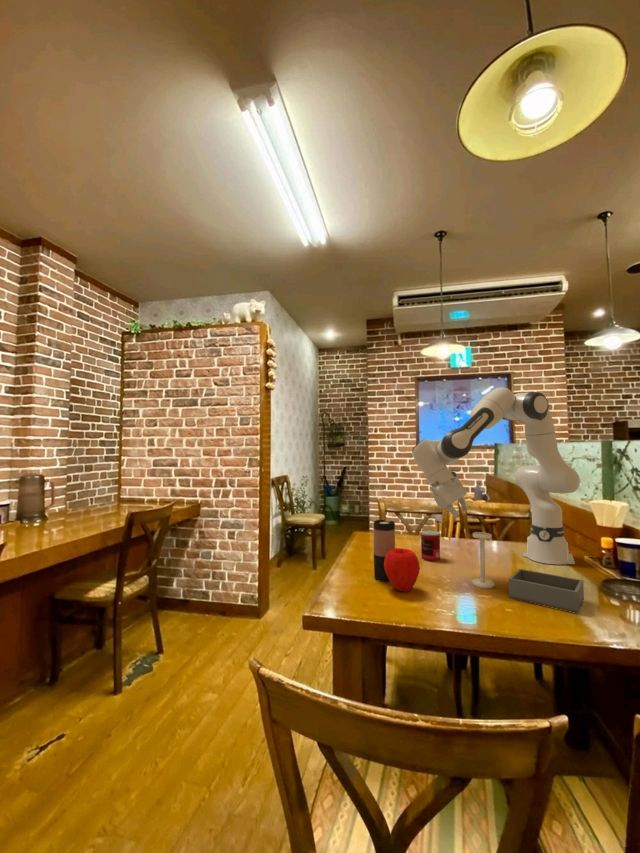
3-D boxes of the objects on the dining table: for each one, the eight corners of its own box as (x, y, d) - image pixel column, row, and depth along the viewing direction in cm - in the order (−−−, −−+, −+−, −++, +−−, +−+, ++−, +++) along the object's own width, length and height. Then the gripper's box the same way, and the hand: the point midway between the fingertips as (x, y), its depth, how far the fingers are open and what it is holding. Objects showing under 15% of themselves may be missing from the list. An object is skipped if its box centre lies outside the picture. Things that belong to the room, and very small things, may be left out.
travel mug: (379, 583, 136) (378, 524, 137) (370, 576, 143) (370, 520, 144) (399, 581, 138) (398, 523, 139) (389, 574, 145) (389, 519, 146)
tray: (519, 586, 132) (519, 568, 132) (583, 600, 121) (583, 580, 121) (509, 598, 122) (508, 578, 122) (577, 614, 111) (577, 592, 111)
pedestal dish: (475, 579, 139) (475, 530, 140) (496, 584, 134) (495, 533, 135) (468, 585, 134) (468, 534, 134) (490, 590, 129) (489, 537, 130)
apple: (377, 586, 133) (376, 545, 133) (406, 581, 137) (406, 542, 138) (395, 598, 122) (395, 554, 122) (427, 593, 126) (427, 551, 126)
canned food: (438, 556, 169) (437, 530, 169) (442, 562, 161) (441, 534, 161) (419, 556, 169) (419, 530, 170) (422, 561, 161) (422, 534, 162)
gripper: (436, 480, 138) (459, 516, 134) (457, 471, 154) (477, 503, 149) (422, 489, 141) (444, 524, 137) (444, 479, 157) (464, 510, 153)
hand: (461, 513), depth 143 cm, fingers open, 8 cm apart
